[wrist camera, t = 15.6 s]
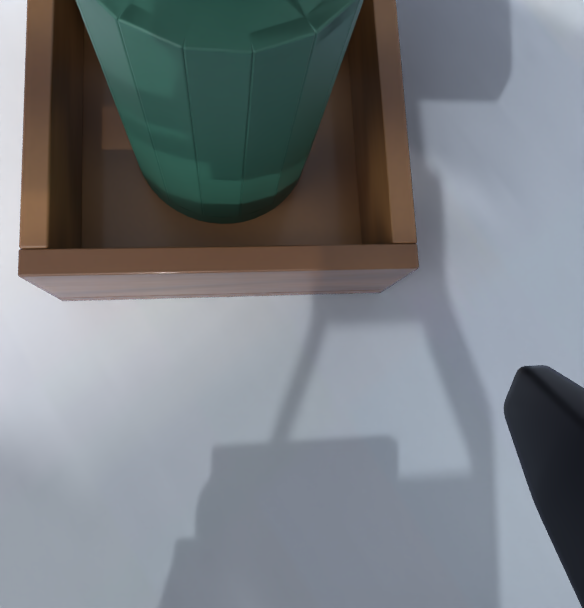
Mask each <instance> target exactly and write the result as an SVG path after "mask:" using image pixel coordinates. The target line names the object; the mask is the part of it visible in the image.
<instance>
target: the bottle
mask: <svg viewBox="0 0 584 608" xmlns="http://www.w3.org/2000/svg"><path fill="white" fill-rule="evenodd" d="M363 1H364V0H76V2H77V5H78V8H79V10H80V13H81V16H82V18H83V21H84V23H85V26H86V29H87V31H88V34H89V37H90V39H91V42H92V44H93V47H94V50H95V52H96V55H97V58H98V60H99V63H100V65H101V68H102V71H103V73H104V76H105V78H106V81H107V84H108V86H109V89H110V92H111V94H112V97H113V99H114V102H115V105H116V107H117V110H118V113H119V115H120V118H121V120H122V123H123V126H124V128H125V131H126V134H127V136H128V139H129V141H130V144H131V147H132V149H133V151H134V154H135V156H136V159H137V161H138V164H139V167H140V169H141V171H142V174H143V176H144V178H145V180H146V181H147V183H148V184H149V186H150V187H151V189H152V190H153V191H154V192H155V193H156V194H157V195H158V197H159V198H161V199H162V200H163V201H164V202H165V203H166V204H167V205H169V206H170V207H172V208H173V209H175V210H176V211H178V212H180V213H182V214H184V215H186V216H188V217H191V218H194V219H196V220H200V221H204V222H209V223H218V224H230V223H238V222H244V221H248V220H251V219H255V218H257V217H259V216H261V215H264V214H266V213H267V212H269V211H271V210H272V209H274V208H275V207H276V206H278V205H279V204H280V203H281V202H283V201H284V199H285V198H286V197H287V196H288V195H289V194H290V193H291V191H292V190H293V188H294V187H295V186H296V184H297V182H298V180H299V178H300V176H301V173H302V170H303V168H304V165H305V163H306V160H307V158H308V156H309V153H310V150H311V148H312V145H313V142H314V139H315V136H316V134H317V131H318V128H319V125H320V122H321V119H322V117H323V114H324V111H325V108H326V105H327V102H328V100H329V97H330V94H331V91H332V88H333V86H334V83H335V80H336V77H337V74H338V71H339V69H340V66H341V63H342V60H343V57H344V55H345V52H346V49H347V46H348V43H349V40H350V38H351V35H352V32H353V29H354V26H355V24H356V21H357V18H358V15H359V12H360V9H361V7H362V4H363Z"/></svg>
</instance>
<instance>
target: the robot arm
mask: <svg viewBox="0 0 584 608" xmlns="http://www.w3.org/2000/svg"><path fill="white" fill-rule="evenodd" d="M504 415H505V419H506V422H507V425H508V428H509V431H510V434H511V437H512V440H513V443H514V446H515V448H516V451H517V454H518V457H519V460H520V463H521V466H522V469H523V472H524V475H525V478H526V481H527V484H528V487H529V490H530V492H531V495H532V498H533V500H534V503H535V505H536V508H537V510H538V512H539V515H540V517H541V519H542V521H543V524H544V526H545V528H546V530H547V532H548V535H549V537H550V539H551V541H552V543H553V545H554V548H555V550H556V552H557V554H558V556H559V558H560V561H561V563H562V565H563V567H564V569H565V571H566V574H567V576H568V578H569V580H570V582H571V585H572V587H573V589H574V591H575V593H576V595H577V598H578V600H579V602H580V604H581V606H582V608H584V388H583V387H581V386H579V385H578V384H576V383H575V382H573V381H571V380H570V379H568V378H567V377H565V376H563V375H562V374H560V373H558V372H557V371H555V370H554V369H552V368H550V367H548V366H544V365H538V366H524V367H521V368H520V369H519V370H518V371H517V372H516V375H515V377H514V380H513V382H512V385H511V387H510V389H509V392H508V394H507V397H506V399H505V403H504Z"/></svg>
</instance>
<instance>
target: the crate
mask: <svg viewBox="0 0 584 608" xmlns="http://www.w3.org/2000/svg"><path fill="white" fill-rule="evenodd" d="M416 243H417V237H416V225H415V214H414V203H413V191H412V180H411V169H410V157H409V146H408V134H407V123H406V112H405V100H404V89H403V78H402V66H401V55H400V44H399V32H398V21H397V9H396V0H364V1H363V4H362V7H361V9H360V12H359V15H358V18H357V21H356V24H355V26H354V29H353V32H352V35H351V38H350V40H349V43H348V46H347V49H346V52H345V55H344V57H343V60H342V63H341V66H340V69H339V71H338V74H337V77H336V80H335V83H334V86H333V88H332V91H331V94H330V97H329V100H328V102H327V105H326V108H325V111H324V114H323V117H322V119H321V122H320V125H319V128H318V131H317V134H316V136H315V139H314V142H313V145H312V148H311V150H310V153H309V156H308V158H307V160H306V163H305V165H304V168H303V170H302V173H301V176H300V178H299V180H298V182H297V184H296V186H295V187H294V188H293V190H292V191H291V193H290V194H289V195H288V196H287V197H286V198H285V199H284V201H283V202H281V203H280V204H279V205H278V206H276V207H275V208H274V209H272V210H271V211H269V212H267V213H266V214H264V215H261V216H259V217H257V218H255V219H251V220H248V221H244V222H238V223H230V224H218V223H209V222H204V221H200V220H196V219H194V218H191V217H188V216H186V215H184V214H182V213H180V212H178V211H176V210H175V209H173V208H172V207H170V206H169V205H167V204H166V203H165V202H164V201H163V200H162V199H161V198H159V197H158V195H157V194H156V193H155V192H154V191H153V190H152V189H151V187H150V186H149V184H148V183H147V181H146V180H145V178H144V176H143V174H142V171H141V169H140V167H139V164H138V161H137V159H136V156H135V154H134V151H133V149H132V147H131V144H130V141H129V139H128V136H127V134H126V131H125V128H124V126H123V123H122V120H121V118H120V115H119V113H118V110H117V107H116V105H115V102H114V99H113V97H112V94H111V92H110V89H109V86H108V84H107V81H106V78H105V76H104V73H103V71H102V68H101V65H100V63H99V60H98V58H97V55H96V52H95V50H94V47H93V44H92V42H91V39H90V37H89V34H88V31H87V29H86V26H85V23H84V21H83V18H82V16H81V13H80V10H79V8H78V5H77V2H76V0H27V27H26V58H25V88H24V118H23V149H22V179H21V209H20V240H19V247H20V250H19V262H18V276H19V277H21V278H23V279H25V280H26V281H28V282H30V283H32V284H33V285H35V286H37V287H39V288H41V289H42V290H44V291H46V292H48V293H50V294H51V295H53V296H55V297H57V298H58V299H60V300H62V301H77V300H115V299H153V298H192V297H230V296H269V295H307V294H345V293H380V292H382V291H384V290H385V289H387V288H388V287H390V286H392V285H393V284H395V283H396V282H398V281H399V280H401V279H402V278H404V277H406V276H407V275H409V274H410V273H412V272H413V271H415V270H417V269H418V268H419V260H418V249H417V244H416Z"/></svg>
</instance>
